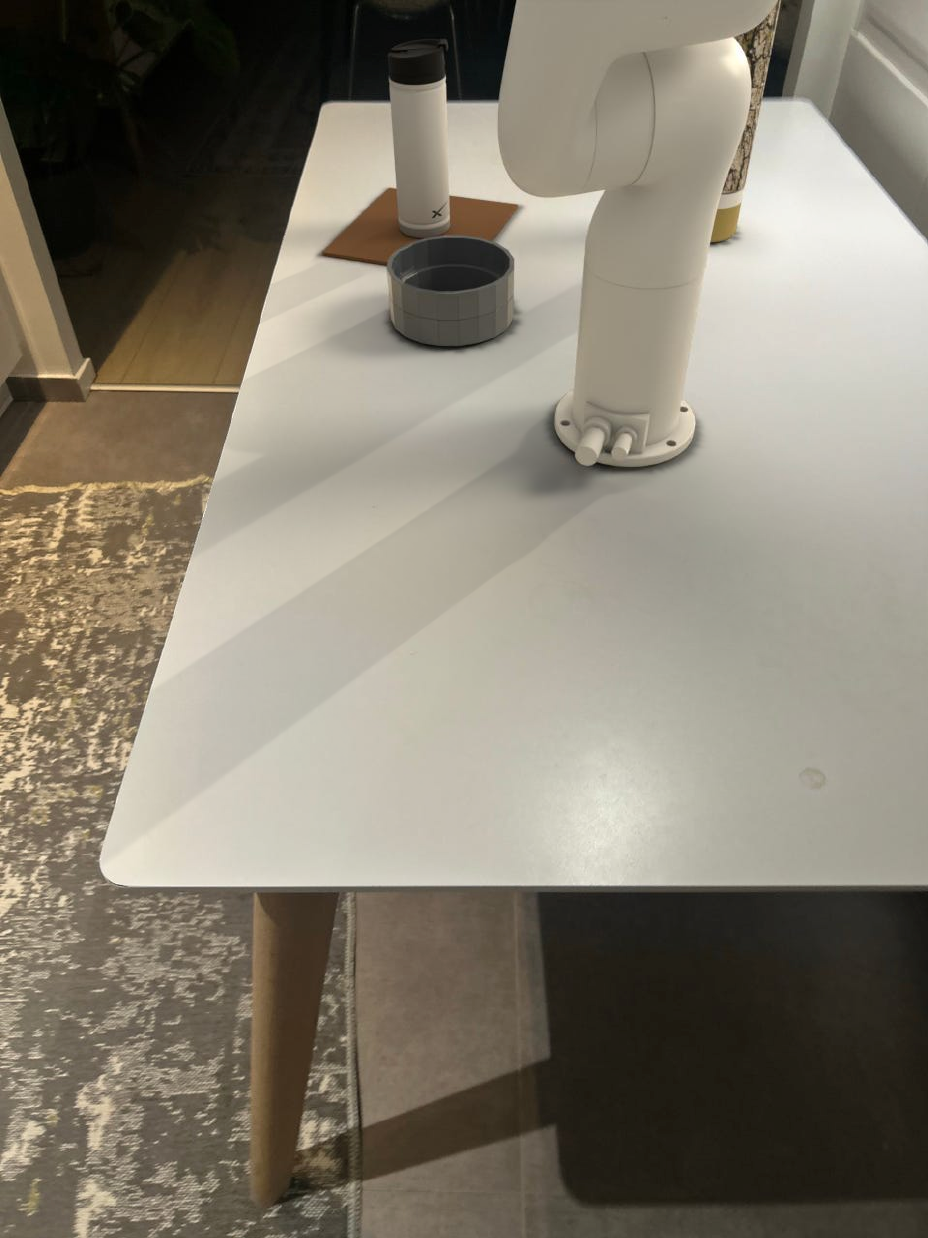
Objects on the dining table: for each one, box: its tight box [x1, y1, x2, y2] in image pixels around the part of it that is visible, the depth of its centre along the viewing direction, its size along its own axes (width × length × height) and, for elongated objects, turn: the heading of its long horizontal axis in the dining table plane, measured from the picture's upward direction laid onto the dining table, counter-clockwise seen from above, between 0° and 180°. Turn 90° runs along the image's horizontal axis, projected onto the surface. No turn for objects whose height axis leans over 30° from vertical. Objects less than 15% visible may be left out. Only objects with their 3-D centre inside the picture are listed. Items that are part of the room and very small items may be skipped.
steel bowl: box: [386, 235, 515, 347], centre depth 96 cm, size 13×13×6 cm
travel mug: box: [387, 38, 450, 238], centre depth 106 cm, size 6×7×20 cm
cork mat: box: [321, 187, 519, 266], centre depth 113 cm, size 20×18×1 cm
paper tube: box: [710, 0, 782, 243], centre depth 102 cm, size 7×7×25 cm
